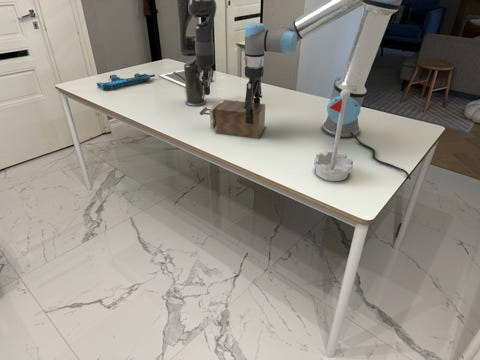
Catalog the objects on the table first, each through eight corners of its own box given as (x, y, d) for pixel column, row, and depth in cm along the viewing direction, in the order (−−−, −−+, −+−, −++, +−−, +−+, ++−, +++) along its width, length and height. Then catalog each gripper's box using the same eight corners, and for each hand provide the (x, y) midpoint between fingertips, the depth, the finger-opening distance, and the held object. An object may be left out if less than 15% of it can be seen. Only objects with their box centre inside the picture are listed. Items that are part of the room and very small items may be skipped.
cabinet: (216, 133, 148) (215, 109, 142) (225, 122, 157) (224, 99, 151) (258, 138, 144) (259, 113, 138) (264, 127, 153) (265, 103, 147)
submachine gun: (140, 68, 226) (159, 74, 209) (142, 73, 228) (160, 80, 211) (89, 77, 207) (104, 85, 190) (90, 84, 209) (106, 92, 192)
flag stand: (336, 160, 127) (350, 81, 111) (358, 178, 117) (377, 93, 101) (306, 167, 123) (316, 85, 107) (326, 186, 113) (340, 99, 97)
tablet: (159, 75, 221) (159, 75, 220) (185, 70, 232) (185, 69, 231) (186, 87, 200) (186, 86, 200) (213, 80, 211) (213, 80, 211)
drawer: (198, 128, 150) (196, 108, 145) (206, 119, 159) (205, 100, 154) (248, 134, 145) (249, 114, 140) (255, 124, 153) (255, 105, 148)
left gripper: (202, 48, 143) (204, 89, 152) (189, 55, 132) (193, 98, 142) (219, 49, 141) (220, 90, 150) (207, 56, 130) (210, 100, 140)
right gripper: (252, 58, 144) (251, 107, 156) (236, 73, 125) (236, 127, 137) (269, 59, 143) (267, 108, 154) (255, 75, 123) (254, 130, 135)
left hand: (207, 94), depth 146 cm, fingers closed
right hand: (253, 117), depth 146 cm, fingers closed on cabinet, 12 cm apart
